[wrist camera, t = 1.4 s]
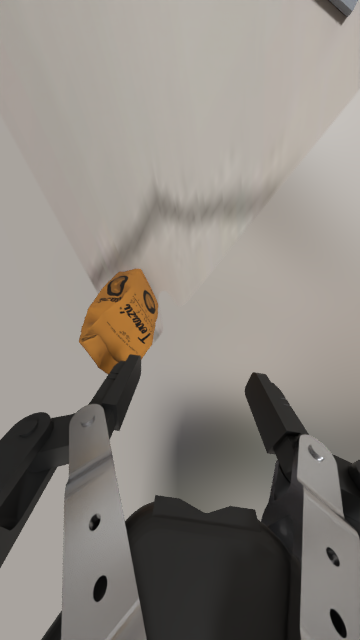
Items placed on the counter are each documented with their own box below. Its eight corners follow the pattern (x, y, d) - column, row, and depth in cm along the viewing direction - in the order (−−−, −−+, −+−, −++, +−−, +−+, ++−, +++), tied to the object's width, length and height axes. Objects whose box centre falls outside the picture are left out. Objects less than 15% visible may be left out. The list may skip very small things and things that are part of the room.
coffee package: (147, 262, 32) (114, 323, 15) (162, 307, 40) (153, 384, 22) (106, 272, 33) (30, 340, 16) (129, 314, 41) (94, 392, 23)
